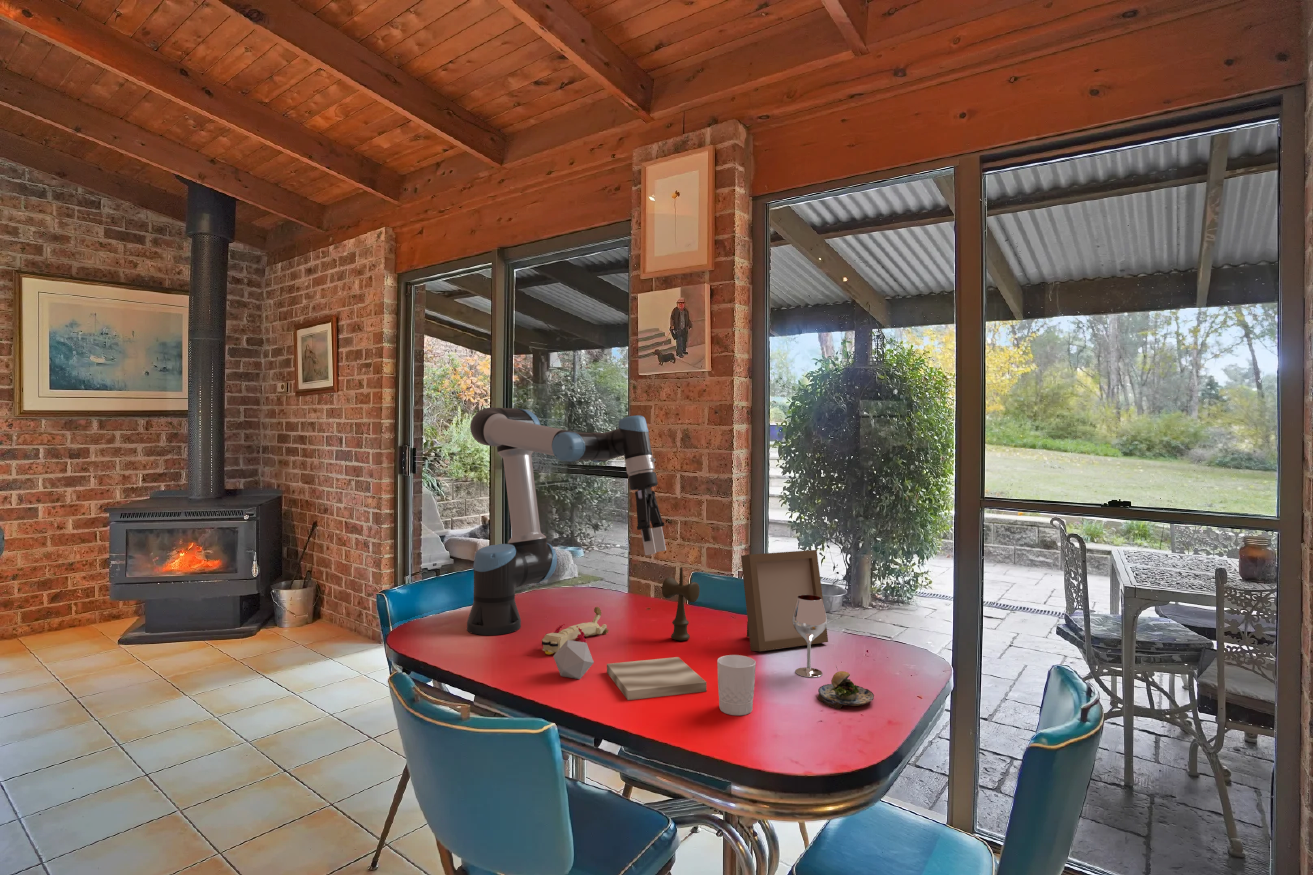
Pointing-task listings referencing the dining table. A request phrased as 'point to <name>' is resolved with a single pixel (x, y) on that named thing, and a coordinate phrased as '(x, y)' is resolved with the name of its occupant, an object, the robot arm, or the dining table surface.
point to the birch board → (655, 678)
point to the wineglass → (809, 626)
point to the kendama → (680, 603)
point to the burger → (843, 692)
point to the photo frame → (778, 596)
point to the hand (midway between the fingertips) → (656, 552)
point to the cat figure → (573, 633)
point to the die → (573, 659)
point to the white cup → (736, 684)
